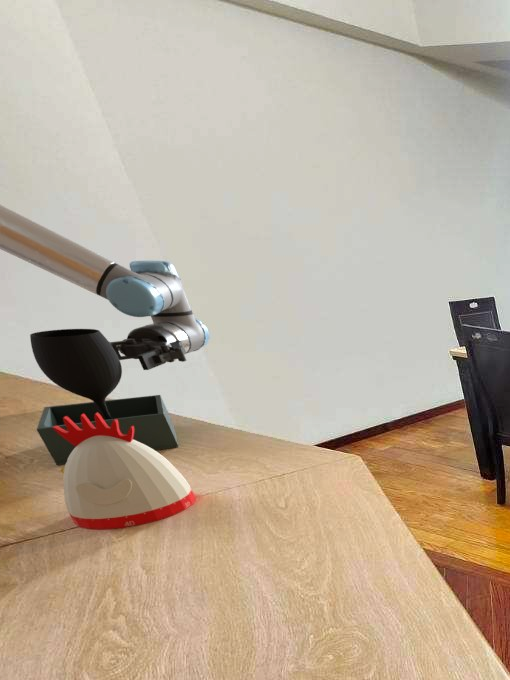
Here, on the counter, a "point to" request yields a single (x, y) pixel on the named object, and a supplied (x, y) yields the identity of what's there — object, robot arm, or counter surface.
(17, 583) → the counter surface
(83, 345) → the wine glass
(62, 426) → the bin
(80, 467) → the kitchen timer
